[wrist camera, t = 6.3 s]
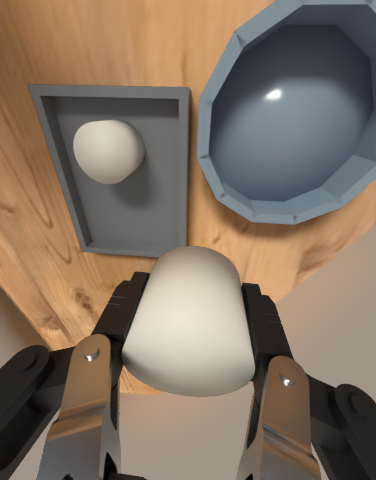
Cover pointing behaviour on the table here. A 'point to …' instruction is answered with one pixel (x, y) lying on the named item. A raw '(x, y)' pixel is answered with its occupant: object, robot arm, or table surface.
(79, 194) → the parts tray
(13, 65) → the table surface
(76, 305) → the table surface
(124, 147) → the marshmallow
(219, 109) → the bowl
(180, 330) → the white marshmallow
